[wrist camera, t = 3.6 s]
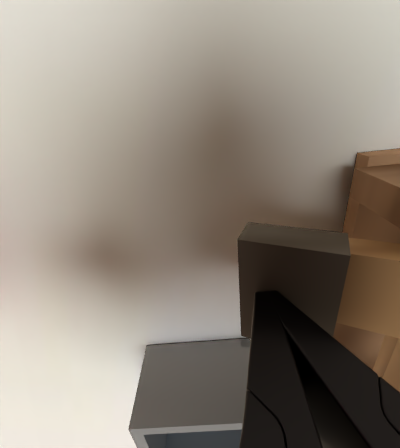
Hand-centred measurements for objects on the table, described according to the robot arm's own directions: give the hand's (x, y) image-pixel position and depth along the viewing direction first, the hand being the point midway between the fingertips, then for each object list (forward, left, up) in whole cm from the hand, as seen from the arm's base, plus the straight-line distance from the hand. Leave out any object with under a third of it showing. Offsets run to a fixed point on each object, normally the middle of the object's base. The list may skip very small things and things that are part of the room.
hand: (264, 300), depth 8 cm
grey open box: (+3, +11, -4) cm, 12 cm away
